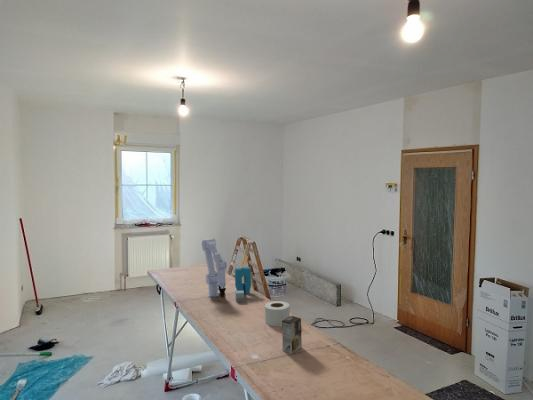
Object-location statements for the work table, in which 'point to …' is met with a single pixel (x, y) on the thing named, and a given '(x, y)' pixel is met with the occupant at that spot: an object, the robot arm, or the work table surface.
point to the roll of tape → (276, 313)
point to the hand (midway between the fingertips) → (222, 295)
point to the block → (247, 279)
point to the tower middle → (239, 294)
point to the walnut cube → (222, 297)
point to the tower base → (239, 299)
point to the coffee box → (291, 334)
